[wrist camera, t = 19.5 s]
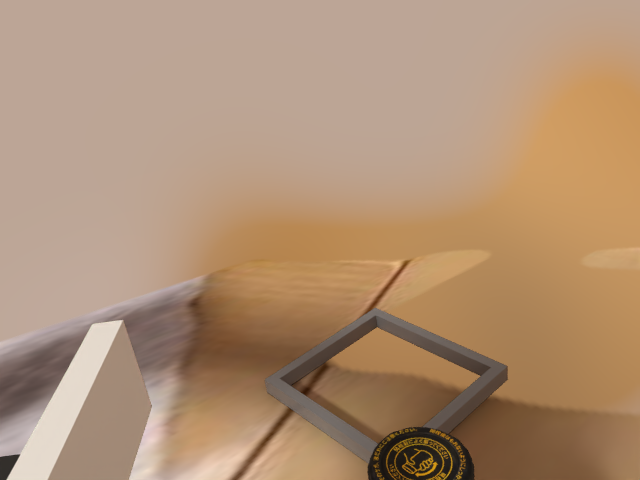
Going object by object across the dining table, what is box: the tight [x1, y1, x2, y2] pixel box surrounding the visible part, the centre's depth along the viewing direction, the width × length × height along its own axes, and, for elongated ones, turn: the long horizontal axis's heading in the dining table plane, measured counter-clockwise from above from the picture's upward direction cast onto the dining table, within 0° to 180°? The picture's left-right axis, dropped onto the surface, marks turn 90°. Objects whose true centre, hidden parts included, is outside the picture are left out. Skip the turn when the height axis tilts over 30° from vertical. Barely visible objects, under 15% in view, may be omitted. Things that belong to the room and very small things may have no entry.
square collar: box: [265, 308, 507, 464], centre depth 54 cm, size 16×15×2 cm
